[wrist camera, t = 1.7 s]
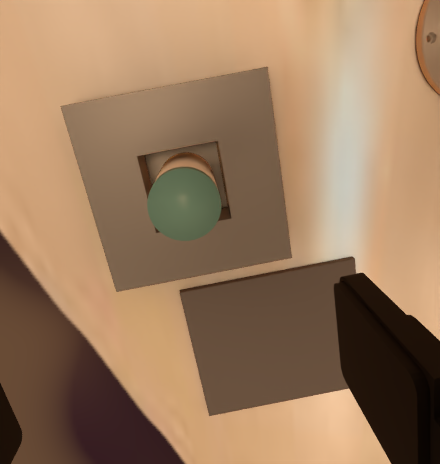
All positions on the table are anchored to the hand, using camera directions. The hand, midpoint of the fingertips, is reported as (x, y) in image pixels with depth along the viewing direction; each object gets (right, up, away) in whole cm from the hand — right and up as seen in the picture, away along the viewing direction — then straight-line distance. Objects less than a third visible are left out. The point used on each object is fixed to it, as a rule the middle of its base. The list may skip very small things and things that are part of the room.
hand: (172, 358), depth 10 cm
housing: (-2, +8, +25) cm, 26 cm away
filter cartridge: (-2, +8, +25) cm, 26 cm away
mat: (+7, -8, +31) cm, 33 cm away
